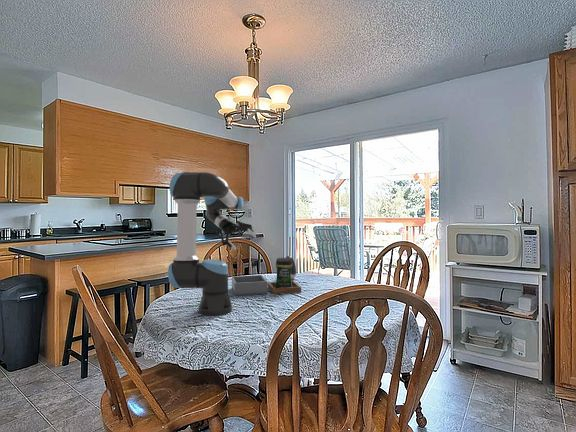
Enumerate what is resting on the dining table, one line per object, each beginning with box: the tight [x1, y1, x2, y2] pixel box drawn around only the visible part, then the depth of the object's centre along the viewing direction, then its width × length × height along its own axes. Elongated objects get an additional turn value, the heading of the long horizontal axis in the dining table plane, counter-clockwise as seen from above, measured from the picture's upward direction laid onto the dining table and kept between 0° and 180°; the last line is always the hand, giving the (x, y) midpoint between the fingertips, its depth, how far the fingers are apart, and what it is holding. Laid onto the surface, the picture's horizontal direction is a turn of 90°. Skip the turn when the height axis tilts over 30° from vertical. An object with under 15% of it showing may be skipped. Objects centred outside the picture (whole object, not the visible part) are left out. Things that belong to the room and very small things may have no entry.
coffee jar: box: [275, 257, 293, 288], centre depth 196 cm, size 10×8×19 cm
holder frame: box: [268, 280, 302, 295], centre depth 196 cm, size 16×16×3 cm
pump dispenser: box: [285, 255, 298, 280], centre depth 226 cm, size 10×10×15 cm
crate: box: [231, 274, 269, 297], centre depth 193 cm, size 18×18×7 cm
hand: (245, 242), depth 187 cm, fingers open, 13 cm apart
